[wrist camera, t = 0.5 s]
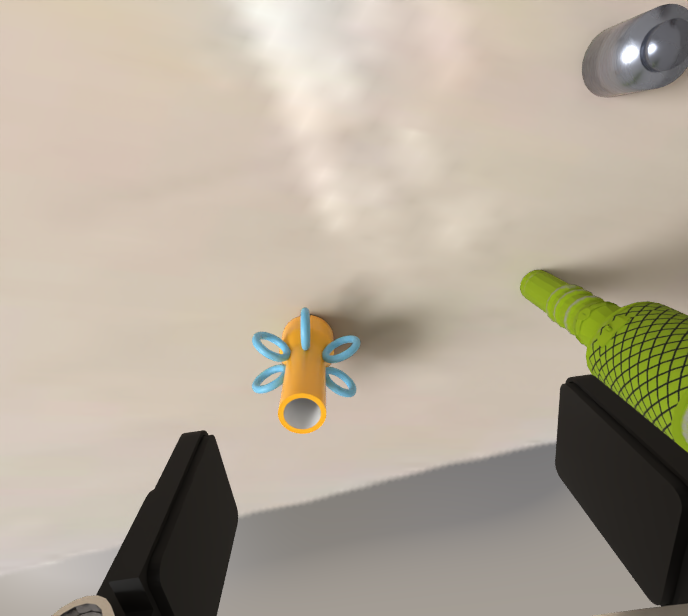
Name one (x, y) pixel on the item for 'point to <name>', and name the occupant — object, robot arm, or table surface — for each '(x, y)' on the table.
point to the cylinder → (304, 370)
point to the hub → (638, 53)
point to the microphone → (625, 348)
